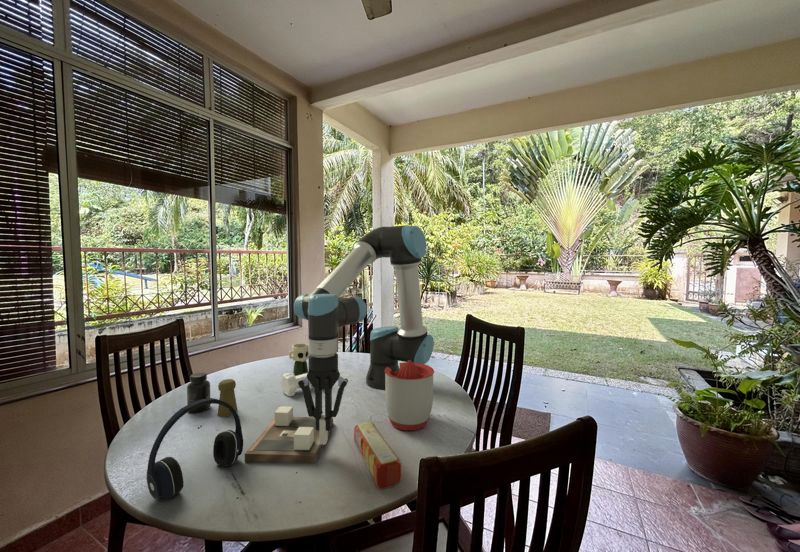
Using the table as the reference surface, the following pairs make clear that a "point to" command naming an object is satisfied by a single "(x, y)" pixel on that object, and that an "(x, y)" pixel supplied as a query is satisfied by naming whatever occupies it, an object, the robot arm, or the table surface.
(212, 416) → the table surface
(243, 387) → the table surface
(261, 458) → the brown wooden tray
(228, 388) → the cork
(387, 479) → the snack package
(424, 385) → the citrus juicer
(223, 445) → the headphones
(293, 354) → the character mug
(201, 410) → the supplement bottle
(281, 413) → the tab far
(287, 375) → the bone shaped toy
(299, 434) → the cream cube
